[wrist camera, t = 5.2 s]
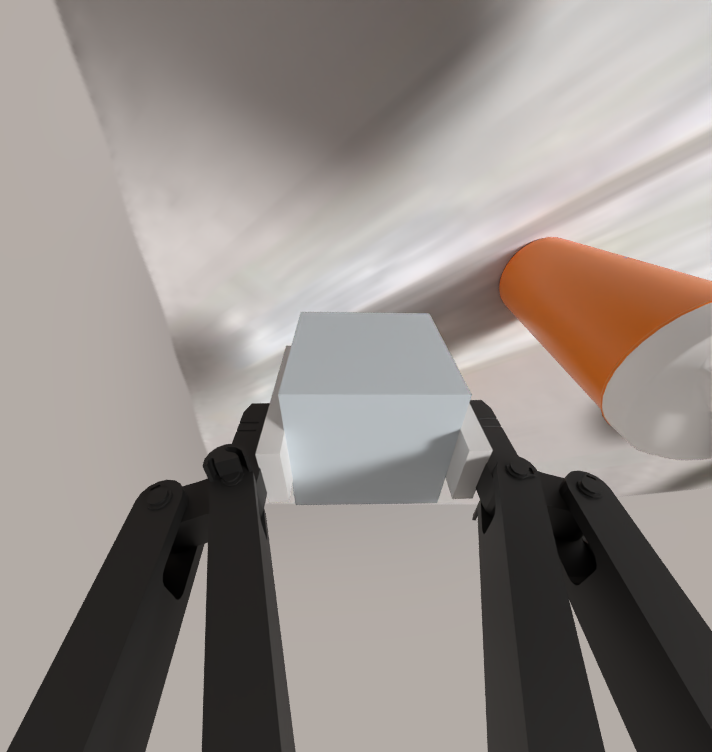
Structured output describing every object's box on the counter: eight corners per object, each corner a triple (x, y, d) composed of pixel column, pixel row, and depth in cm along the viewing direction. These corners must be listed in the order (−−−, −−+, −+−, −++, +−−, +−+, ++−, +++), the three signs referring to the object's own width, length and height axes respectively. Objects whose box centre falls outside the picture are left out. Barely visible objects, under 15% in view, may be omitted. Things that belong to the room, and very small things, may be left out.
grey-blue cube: (300, 312, 14) (278, 394, 9) (429, 313, 14) (471, 394, 10) (309, 408, 18) (295, 504, 13) (412, 408, 18) (436, 503, 13)
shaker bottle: (508, 336, 32) (677, 520, 16) (473, 268, 28) (657, 426, 12) (597, 285, 29) (914, 447, 13) (574, 200, 25) (1004, 285, 9)
